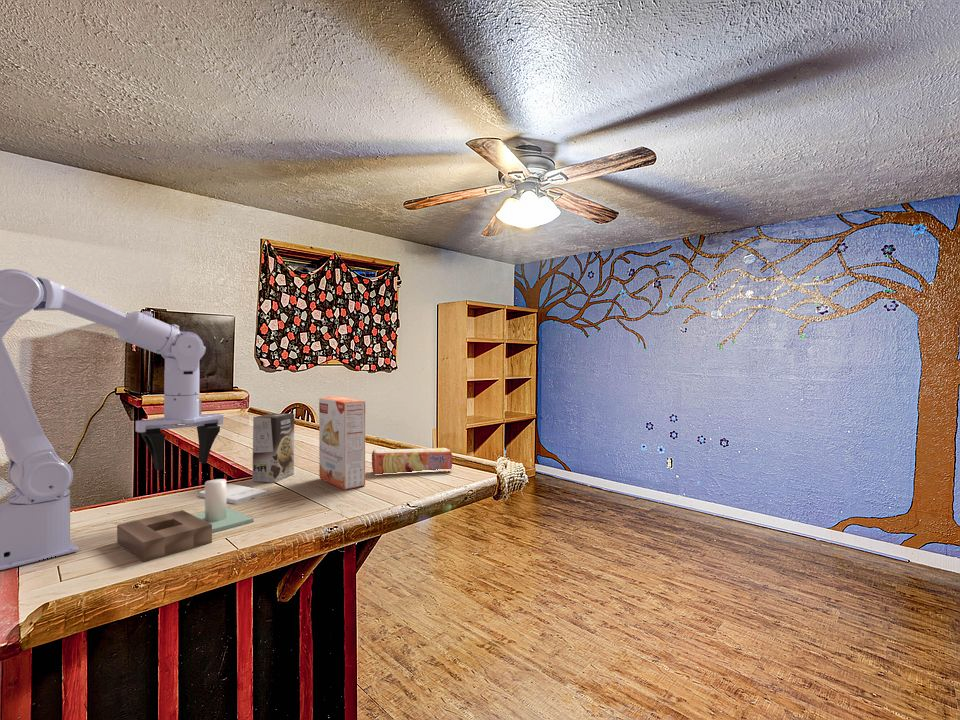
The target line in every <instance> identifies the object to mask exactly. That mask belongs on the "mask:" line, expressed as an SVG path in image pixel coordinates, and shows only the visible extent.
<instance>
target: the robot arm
mask: <svg viewBox="0 0 960 720" xmlns="http://www.w3.org/2000/svg"><path fill="white" fill-rule="evenodd" d="M30 311H34V312H35V311H37V312H38V311H39V312H40V311H61V312H64V313H67V314H70V315H73V316H76V317H79V318H82V319H85V320H88V321H90V322H93V323H96V324H98V325H101V326H104V327H106V328H110V329H113V330H114V331H115V332H116V334H117V336H118V337H119V339H120V340H121V341H123V342H125V343H128V344H132V345H134V346H136V347H138V348H141V349H144V350H147V351H148V352H149V351H150V352H152V353H155V354H157V355H161V357H162V358H163V359H164V370H163V371H164V375H163V376H164V381H163V382H164V384H163V385H164V387H163V391H164V393H163V394H164V395H163V397H164V398H163V417H158V418H151V419H150V418H149V419H142V420H141V419H140V420H135V432H136V433H140V436H141V438H142V439H143V441H144V443H145V444H146V445H147V448H148V450H149V452H150V456H151V458H152V461H153V466H154V470H156V471H162V470H164V447H165V445H164V444H165V439H166V434H165V433H163V431H164V430H170V429H171V430H172V429H180V428H181V429H182V428H184V429H185V428H193V427H196V431H197V436H198V437H197V439H198V440H197V441H198V462H199V464H200V463H201V464H207V463H208V460H209V456H210V453H211V451H212V446H213V444H214V442H215V440H216V438H217V437H218V435H219V433H220V431H221V426H220V425H224V414H223V413H221V414H220V413H214V414H201V415H199V400H200V360H201V359H202V358H203V356H205V353H206V349H207V348H206V345H205V346H204V342H203V340H202V338H200V336H199V335H198V334H197V333H194V332H192V331H180V325H177V324H176V323H172V324H169V323H166V322H164V321H162V320H160V319H157V318H154V317H153V316H154V314H153V312H150V311H147V310H146V311H143V312H140V311H138V310H135V311H132V312H127V313H125V312H122V311H120V310H118V309H116V308H114V307H111V306H110V305H107V304H106V303H105V304H104V303H102V302H100V301H98V300H96V299H94V298H91V297H89V296H87V295H86V294H82V293H80V292H79V291H76V290H74V289H72V288H69V287H67V286H66V285H63V284H60V283H59V282H56V281H53V280H51V279H48V278H46V277H41V276H38V277H35V276H34V275H33V274H31V273H29V272H27V271H24V270H21V269H15V268H5V269H1V270H0V438H1V440H2V441H1V442H2V444H3V445H4V450H5V454H6V456H7V459H8V462H9V466H8V470H7V478H8V480H9V482H10V484H12V486H14V487H15V489H14V490H13V491H12V493H11V494H10V495H9V496H8V501H7V502H3V503H0V571H2V570H6V569H11V568H16V567H19V566H23V565H28V564H32V563H35V562H40V561H43V559H44V560H48V559H51V557H52V558H56V557H59V556H63V555H67V554H71V553H75V552H78V551H79V550H80V548H79V547H78V546H77V545H76V544H75V543H74V542H73V541H71V489H70V486H71V484H72V482H73V479H74V471H73V468H72V467H71V465H70V464H69V463H68V462H66V461H65V460H63V459H61V458H60V457H59V456H58V455H57V452H56V450H55V448H54V446H53V445H52V443H51V442H50V441H49V439H48V438H47V436H46V434H45V432H44V430H43V428H42V426H41V423H40V421H39V419H38V416H37V414H36V412H35V409H34V407H33V405H32V402H31V401H30V399H29V396H28V394H27V392H26V389H25V387H24V385H23V383H22V380H21V378H20V376H19V373H18V371H17V369H16V367H15V364H14V363H13V360H12V358H11V356H10V353H9V351H8V348H7V347H6V344H5V341H4V339H3V338H4V336H5V335H6V334H7V332H8V331H9V330H10V329H11V328H12V327H13V326H14V324H15V323H16V320H18V319H20V318H21V317H22V316H25V315H26V314H27V313H29V312H30ZM187 423H196V424H187ZM175 424H185V425H175ZM55 556H56V557H55ZM47 558H48V559H47ZM39 560H40V561H39Z"/></svg>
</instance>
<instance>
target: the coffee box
mask: <svg viewBox="0 0 960 720" xmlns="http://www.w3.org/2000/svg"><path fill="white" fill-rule="evenodd" d="M252 421H253V422H252V423H253V426H252V479H251V481H252V482H259V483H260V482H261V483H273V484H275V483H277V482H279V481H281V480H283V479H287V478H288V477H290V476H293V475H294V474H295V413H268V414H264V415H263V414H262V415H258V416H253V418H252Z"/></svg>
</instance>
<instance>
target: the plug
mask: <svg viewBox="0 0 960 720" xmlns="http://www.w3.org/2000/svg"><path fill="white" fill-rule="evenodd" d="M226 484H227V479H225V478H216V479H211V480H206V481H205V482H204V490H205V498H204V512H205V521H208V522H214V521H220V520H223V519H225V518H226V517H227V507H228V506H227V504H228V502H227V497H226Z"/></svg>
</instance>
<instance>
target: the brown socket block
mask: <svg viewBox="0 0 960 720" xmlns="http://www.w3.org/2000/svg"><path fill="white" fill-rule="evenodd" d="M193 515H194V514H192V513H189V512H187V511H185V510H183V509H181V510H177V511H173V512H167V513H164V514H159V515H155V516H150V517H146V518H145V517H144V518H142V519H137V520H132V521H128V522H124V523H119V524H117V525H116V527H117V528H116V529H117V530H116V539H117V540H116V543H117V544H118V545H120V546H121V547H122V548H123V549H124V550H126V551H127V552H129V553H131V554H132V555H133V556H135V557H136V558H137V559H139V560H140V561H141V562H143V563H144V562H145V563H146V562H149V561H151V560H155V559H158V558H162V557H165V556H168V555H169V556H170V555H173V554H176V553H180V552H183V551H184V552H185V551H187V550H191V549H194V548H197V547H200V546H203V545H207V544H211V543H212V542H213V533H212V524H210V523H208V522H206V521H204V520H202V519H200V518H197V517H195V516H193Z"/></svg>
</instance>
